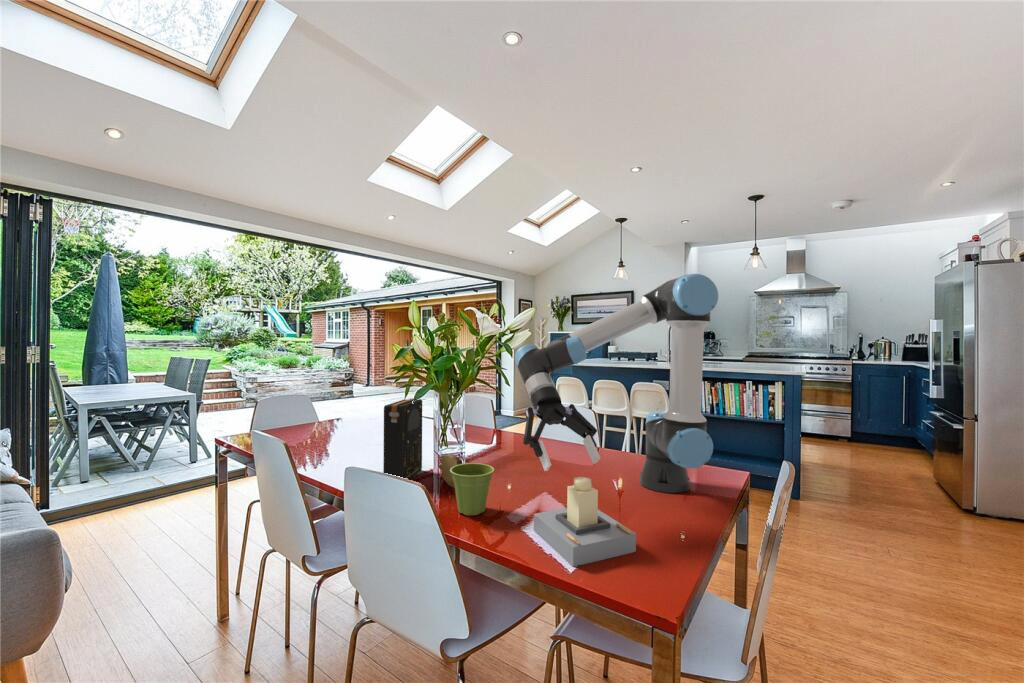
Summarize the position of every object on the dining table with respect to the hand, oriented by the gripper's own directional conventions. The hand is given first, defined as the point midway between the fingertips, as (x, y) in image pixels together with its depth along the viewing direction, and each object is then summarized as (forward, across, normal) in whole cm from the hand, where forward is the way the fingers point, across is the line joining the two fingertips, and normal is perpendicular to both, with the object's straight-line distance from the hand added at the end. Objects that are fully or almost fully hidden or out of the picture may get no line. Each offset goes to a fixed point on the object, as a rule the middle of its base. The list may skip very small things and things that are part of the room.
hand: (573, 464), depth 103 cm
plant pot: (-4, +18, -28) cm, 33 cm away
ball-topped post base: (+14, 0, -9) cm, 17 cm away
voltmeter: (-30, +29, -53) cm, 67 cm away
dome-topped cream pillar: (+12, 0, -6) cm, 13 cm away
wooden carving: (-18, +16, -42) cm, 48 cm away
